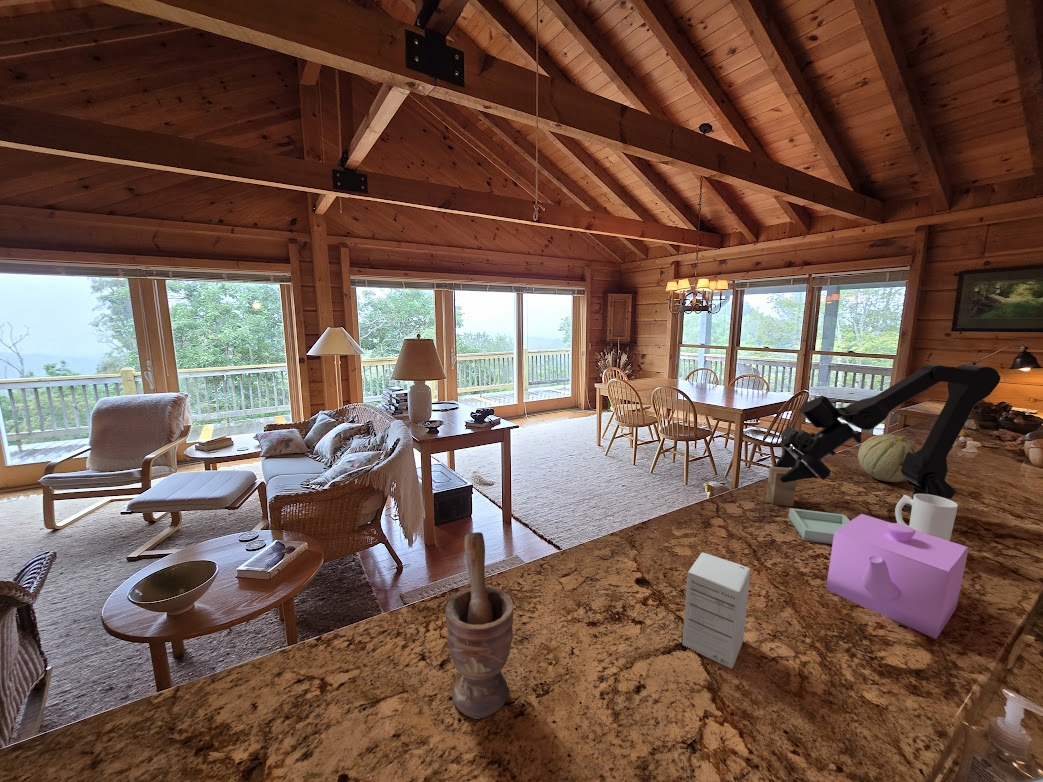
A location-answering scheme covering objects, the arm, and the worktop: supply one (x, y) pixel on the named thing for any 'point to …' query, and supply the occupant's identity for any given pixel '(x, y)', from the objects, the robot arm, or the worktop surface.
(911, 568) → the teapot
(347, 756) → the worktop surface
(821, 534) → the tray
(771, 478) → the walnut block
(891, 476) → the cantaloupe
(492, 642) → the mortar and pestle
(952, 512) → the mug
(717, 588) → the supplement box
